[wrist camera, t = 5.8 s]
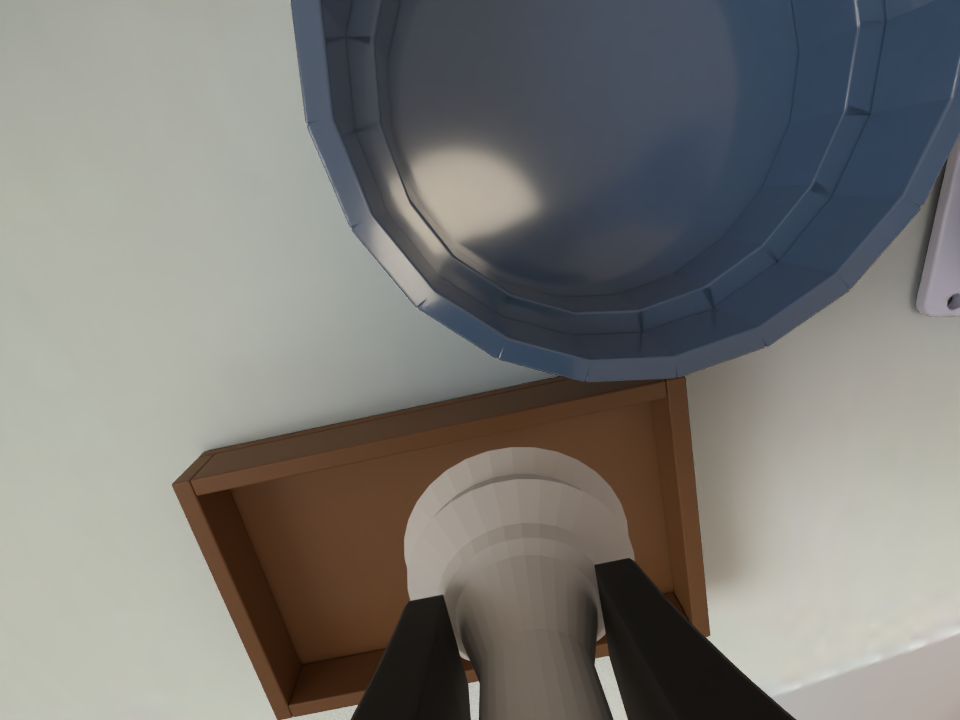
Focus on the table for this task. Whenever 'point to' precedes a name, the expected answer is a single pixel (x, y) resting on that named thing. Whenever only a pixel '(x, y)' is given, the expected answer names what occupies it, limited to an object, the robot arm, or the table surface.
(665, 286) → the bowl
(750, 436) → the table surface
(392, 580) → the tray
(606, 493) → the chess piece
